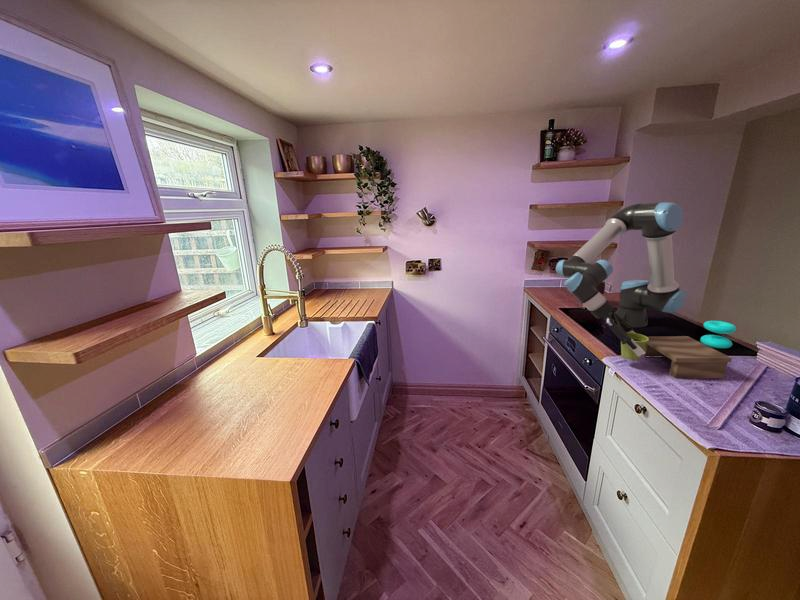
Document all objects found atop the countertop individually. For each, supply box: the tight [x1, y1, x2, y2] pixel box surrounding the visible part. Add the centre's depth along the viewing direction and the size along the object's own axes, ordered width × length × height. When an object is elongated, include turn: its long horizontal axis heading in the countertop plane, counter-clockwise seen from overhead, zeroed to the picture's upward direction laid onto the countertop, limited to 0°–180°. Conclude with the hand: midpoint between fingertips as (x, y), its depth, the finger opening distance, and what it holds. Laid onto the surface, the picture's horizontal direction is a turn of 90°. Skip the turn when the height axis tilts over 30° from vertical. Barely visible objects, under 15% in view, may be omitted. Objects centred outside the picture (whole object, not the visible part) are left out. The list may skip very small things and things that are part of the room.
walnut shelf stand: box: [642, 335, 733, 379], centre depth 122 cm, size 20×18×8 cm
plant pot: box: [620, 332, 649, 361], centre depth 123 cm, size 9×9×9 cm
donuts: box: [699, 320, 737, 349], centre depth 136 cm, size 10×10×10 cm
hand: (641, 349), depth 121 cm, fingers closed on plant pot, 9 cm apart
